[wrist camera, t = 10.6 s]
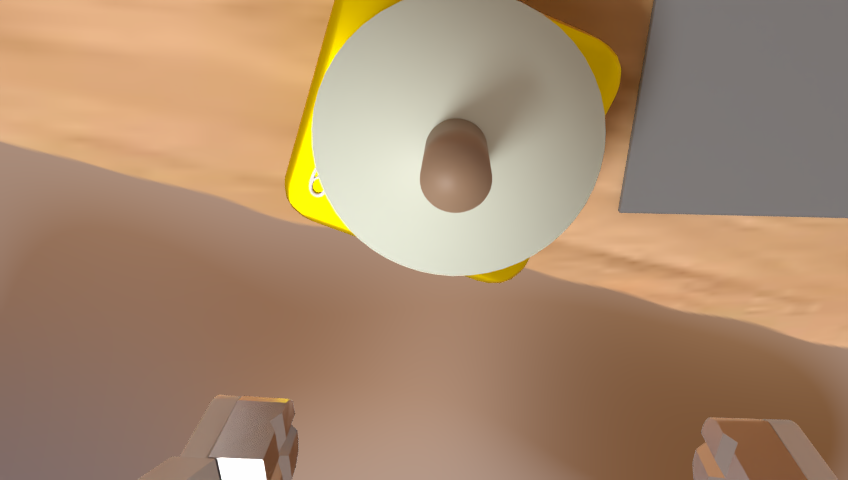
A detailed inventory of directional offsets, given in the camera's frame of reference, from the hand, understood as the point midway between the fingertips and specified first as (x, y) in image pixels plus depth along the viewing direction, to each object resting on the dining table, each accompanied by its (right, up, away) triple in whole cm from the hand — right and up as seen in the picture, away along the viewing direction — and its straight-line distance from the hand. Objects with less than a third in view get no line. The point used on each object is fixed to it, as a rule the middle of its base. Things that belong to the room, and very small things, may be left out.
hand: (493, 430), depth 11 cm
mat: (+19, +13, +20) cm, 31 cm away
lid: (0, +9, +18) cm, 20 cm away
